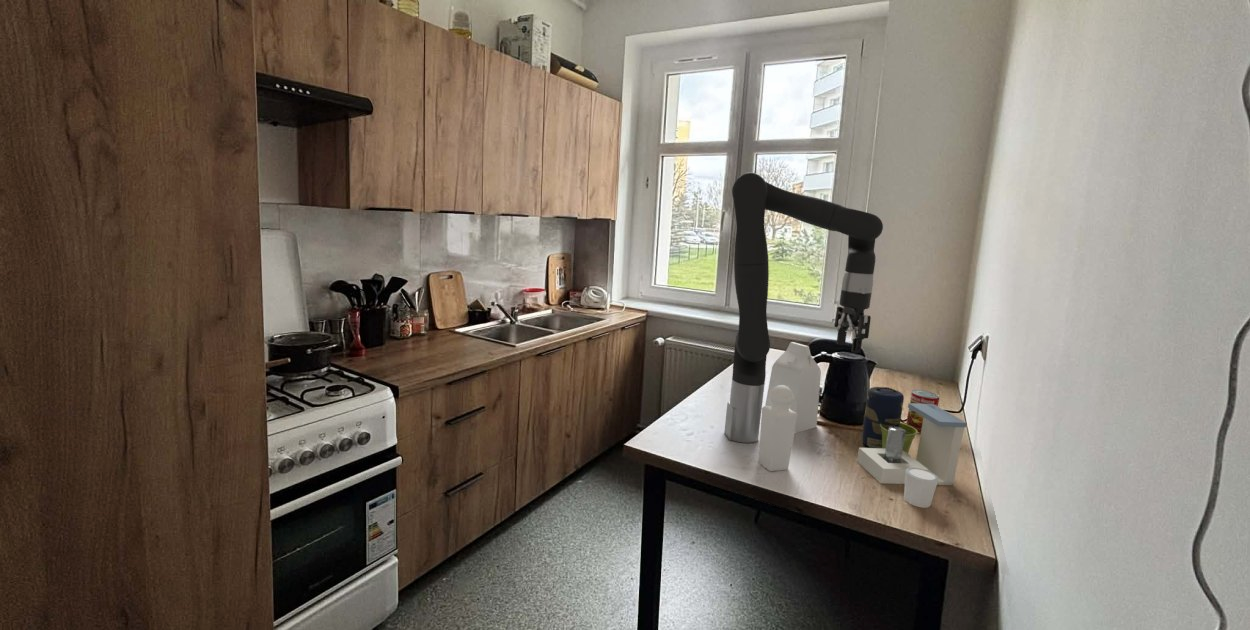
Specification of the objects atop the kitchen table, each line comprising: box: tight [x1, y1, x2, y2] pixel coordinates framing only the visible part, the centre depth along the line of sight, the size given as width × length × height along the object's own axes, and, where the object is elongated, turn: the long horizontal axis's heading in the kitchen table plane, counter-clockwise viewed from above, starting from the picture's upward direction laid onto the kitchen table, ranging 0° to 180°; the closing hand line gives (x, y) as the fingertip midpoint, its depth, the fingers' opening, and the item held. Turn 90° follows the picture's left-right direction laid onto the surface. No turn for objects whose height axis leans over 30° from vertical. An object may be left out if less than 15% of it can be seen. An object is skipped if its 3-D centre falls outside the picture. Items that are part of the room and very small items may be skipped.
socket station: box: [856, 402, 967, 486], centre depth 138 cm, size 19×13×17 cm
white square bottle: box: [757, 385, 797, 472], centre depth 137 cm, size 6×6×22 cm
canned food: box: [905, 389, 940, 434], centre depth 171 cm, size 8×8×12 cm
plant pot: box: [880, 422, 918, 454], centre depth 149 cm, size 9×9×9 cm
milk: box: [764, 341, 822, 434], centre depth 167 cm, size 12×12×26 cm
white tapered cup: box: [903, 468, 938, 509], centre depth 125 cm, size 7×7×7 cm
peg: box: [884, 426, 906, 463], centre depth 139 cm, size 4×4×12 cm
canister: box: [861, 386, 905, 448], centre depth 155 cm, size 10×10×18 cm
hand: (847, 348), depth 145 cm, fingers open, 8 cm apart
